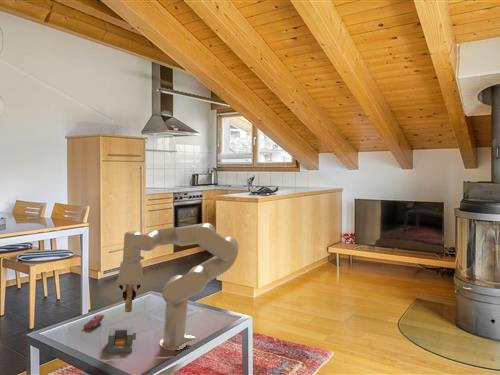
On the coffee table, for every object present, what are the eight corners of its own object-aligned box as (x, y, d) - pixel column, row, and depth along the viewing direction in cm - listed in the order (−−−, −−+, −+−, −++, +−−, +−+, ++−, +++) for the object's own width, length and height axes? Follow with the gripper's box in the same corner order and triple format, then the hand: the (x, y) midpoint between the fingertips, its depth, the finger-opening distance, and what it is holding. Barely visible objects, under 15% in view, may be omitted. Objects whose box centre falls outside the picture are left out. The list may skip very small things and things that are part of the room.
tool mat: (135, 334, 185) (135, 332, 185) (135, 340, 178) (135, 339, 178) (120, 334, 183) (120, 333, 183) (119, 341, 176) (119, 340, 176)
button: (125, 343, 173) (125, 338, 172) (125, 348, 169) (125, 342, 168) (115, 344, 171) (115, 338, 171) (114, 348, 167) (115, 343, 167)
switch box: (132, 342, 176) (133, 327, 176) (131, 353, 167) (132, 337, 166) (108, 343, 173) (109, 328, 173) (106, 354, 164) (107, 338, 163)
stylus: (131, 309, 179) (133, 279, 178) (131, 312, 176) (133, 281, 176) (124, 309, 178) (126, 279, 177) (124, 312, 175) (126, 281, 175)
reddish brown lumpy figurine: (89, 334, 184) (96, 322, 183) (81, 328, 185) (88, 316, 184) (101, 325, 194) (107, 314, 193) (93, 320, 195) (100, 309, 194)
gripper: (149, 257, 182) (146, 295, 183) (112, 257, 177) (109, 297, 178) (150, 261, 175) (148, 301, 176) (112, 261, 170) (109, 302, 171)
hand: (128, 298), depth 177 cm, fingers closed on stylus, 3 cm apart
